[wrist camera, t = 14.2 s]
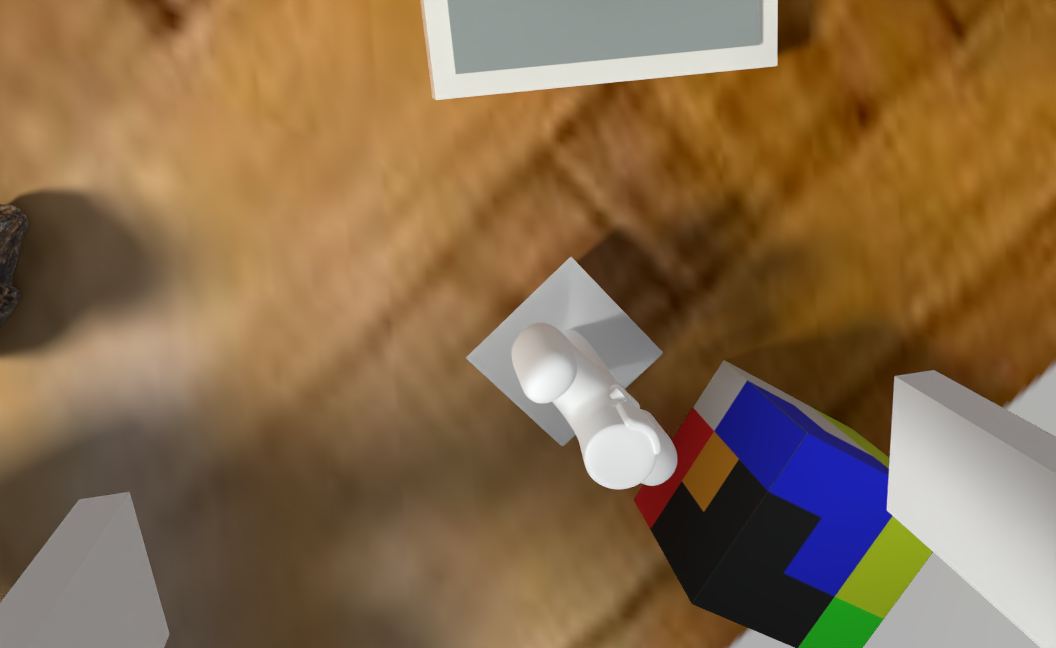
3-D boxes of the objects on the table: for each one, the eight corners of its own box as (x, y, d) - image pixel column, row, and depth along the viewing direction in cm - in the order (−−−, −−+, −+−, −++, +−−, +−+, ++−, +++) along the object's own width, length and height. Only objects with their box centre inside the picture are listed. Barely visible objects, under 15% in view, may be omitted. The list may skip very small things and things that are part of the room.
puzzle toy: (723, 359, 46) (807, 432, 36) (851, 428, 48) (961, 513, 39) (633, 499, 47) (691, 603, 38) (762, 558, 50) (846, 669, 41)
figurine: (562, 430, 45) (636, 591, 31) (445, 321, 42) (468, 444, 28) (655, 344, 45) (774, 468, 30) (542, 227, 42) (616, 304, 27)
